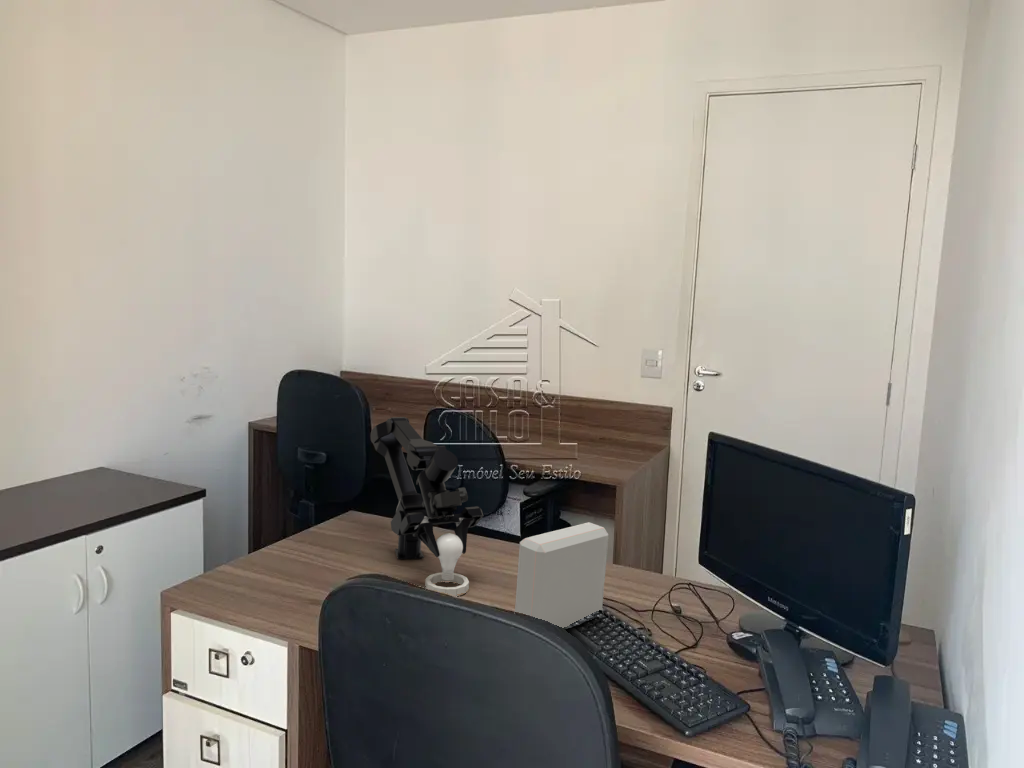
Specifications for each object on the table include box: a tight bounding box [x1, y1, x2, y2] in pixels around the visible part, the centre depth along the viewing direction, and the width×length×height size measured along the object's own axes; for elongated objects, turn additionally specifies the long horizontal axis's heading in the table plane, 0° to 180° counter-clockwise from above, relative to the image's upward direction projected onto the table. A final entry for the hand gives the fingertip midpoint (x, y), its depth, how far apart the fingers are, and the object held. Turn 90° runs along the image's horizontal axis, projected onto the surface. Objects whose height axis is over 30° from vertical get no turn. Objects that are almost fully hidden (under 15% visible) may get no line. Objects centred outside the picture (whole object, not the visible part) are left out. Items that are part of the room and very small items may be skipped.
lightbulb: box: [436, 532, 463, 581], centre depth 169 cm, size 6×6×11 cm
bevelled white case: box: [514, 521, 610, 628], centre depth 154 cm, size 21×8×20 cm, turn 133°
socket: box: [424, 572, 470, 596], centre depth 170 cm, size 10×10×2 cm
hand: (451, 554), depth 168 cm, fingers closed on lightbulb, 6 cm apart
